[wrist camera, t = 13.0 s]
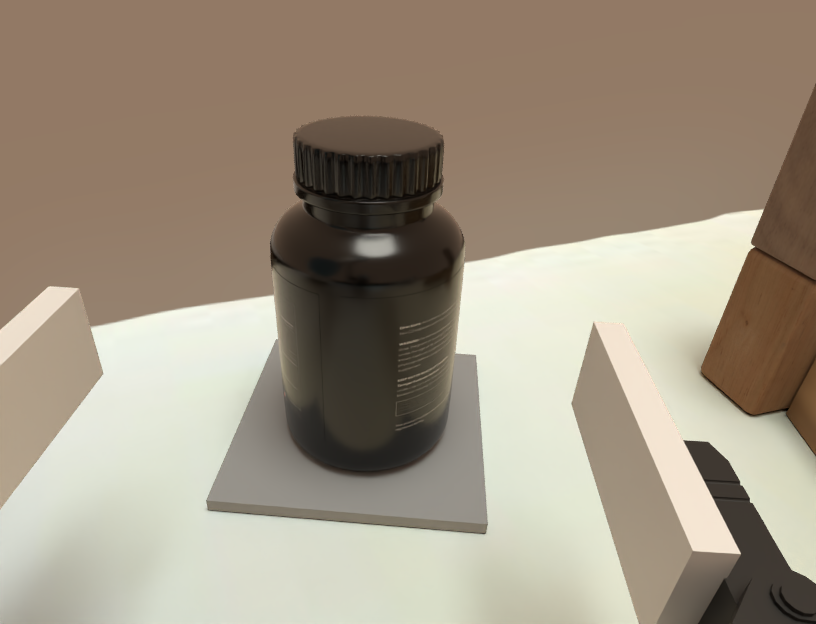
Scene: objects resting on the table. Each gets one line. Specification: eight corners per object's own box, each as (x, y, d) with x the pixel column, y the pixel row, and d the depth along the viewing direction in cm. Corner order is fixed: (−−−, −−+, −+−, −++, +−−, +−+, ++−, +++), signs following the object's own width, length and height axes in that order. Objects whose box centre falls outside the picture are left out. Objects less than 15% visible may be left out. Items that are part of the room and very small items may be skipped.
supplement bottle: (424, 361, 28) (447, 106, 22) (468, 466, 23) (515, 165, 16) (279, 375, 27) (258, 105, 20) (288, 491, 21) (263, 170, 15)
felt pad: (208, 509, 21) (206, 500, 21) (276, 347, 29) (276, 339, 29) (485, 533, 21) (487, 524, 20) (474, 363, 29) (475, 355, 29)
